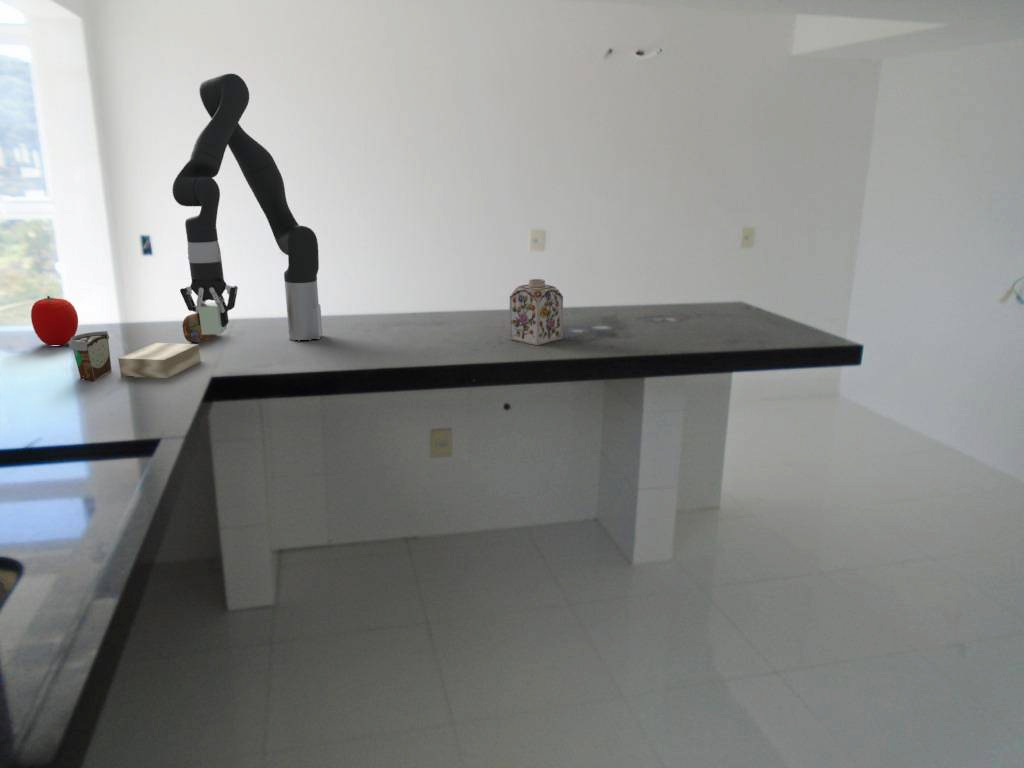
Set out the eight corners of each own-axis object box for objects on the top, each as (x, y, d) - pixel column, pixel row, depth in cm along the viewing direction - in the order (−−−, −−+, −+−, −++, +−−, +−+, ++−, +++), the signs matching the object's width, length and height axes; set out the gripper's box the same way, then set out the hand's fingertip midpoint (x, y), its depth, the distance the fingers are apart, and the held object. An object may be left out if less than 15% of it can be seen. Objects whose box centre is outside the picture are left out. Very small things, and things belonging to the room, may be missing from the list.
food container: (89, 369, 188) (82, 331, 185) (114, 369, 188) (108, 330, 185) (65, 383, 176) (57, 342, 173) (92, 382, 176) (85, 342, 173)
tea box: (227, 328, 192) (223, 302, 190) (220, 334, 186) (216, 307, 184) (209, 329, 192) (205, 302, 190) (201, 334, 186) (198, 307, 184)
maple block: (200, 362, 196) (198, 344, 194) (167, 379, 181) (164, 359, 179) (158, 361, 197) (155, 342, 196) (121, 377, 182) (118, 358, 180)
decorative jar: (563, 339, 221) (564, 279, 216) (537, 346, 213) (538, 284, 208) (533, 333, 229) (534, 275, 224) (507, 339, 221) (508, 279, 215)
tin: (192, 345, 212) (188, 317, 209) (182, 345, 213) (178, 316, 210) (222, 334, 226) (219, 307, 224) (212, 333, 227) (209, 306, 224)
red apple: (30, 344, 213) (21, 295, 209) (73, 337, 221) (65, 290, 217) (44, 351, 205) (35, 301, 200) (88, 344, 212) (80, 296, 208)
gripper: (238, 257, 188) (246, 322, 193) (180, 258, 186) (190, 324, 192) (230, 261, 180) (238, 329, 186) (170, 262, 179) (180, 330, 184)
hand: (213, 326), depth 189 cm, fingers closed on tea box, 4 cm apart
